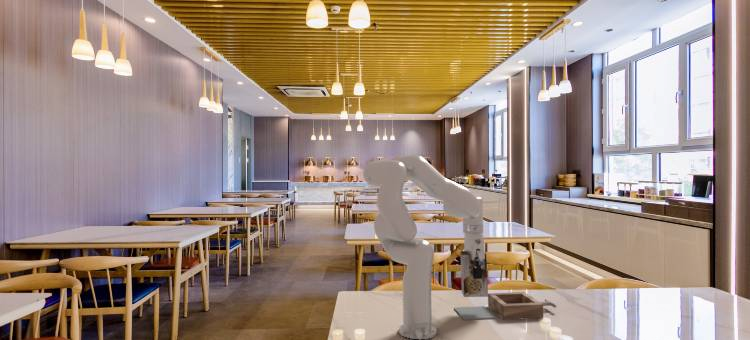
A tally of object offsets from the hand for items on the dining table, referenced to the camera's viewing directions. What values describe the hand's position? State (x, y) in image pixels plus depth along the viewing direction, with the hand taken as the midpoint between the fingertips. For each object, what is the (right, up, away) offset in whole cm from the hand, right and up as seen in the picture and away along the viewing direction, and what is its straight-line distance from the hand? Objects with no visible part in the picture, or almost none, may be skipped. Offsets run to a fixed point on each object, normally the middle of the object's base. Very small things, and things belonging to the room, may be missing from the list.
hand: (473, 275), depth 151 cm
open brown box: (+20, -14, +2) cm, 24 cm away
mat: (0, -14, 0) cm, 14 cm away
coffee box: (0, -7, 0) cm, 7 cm away
